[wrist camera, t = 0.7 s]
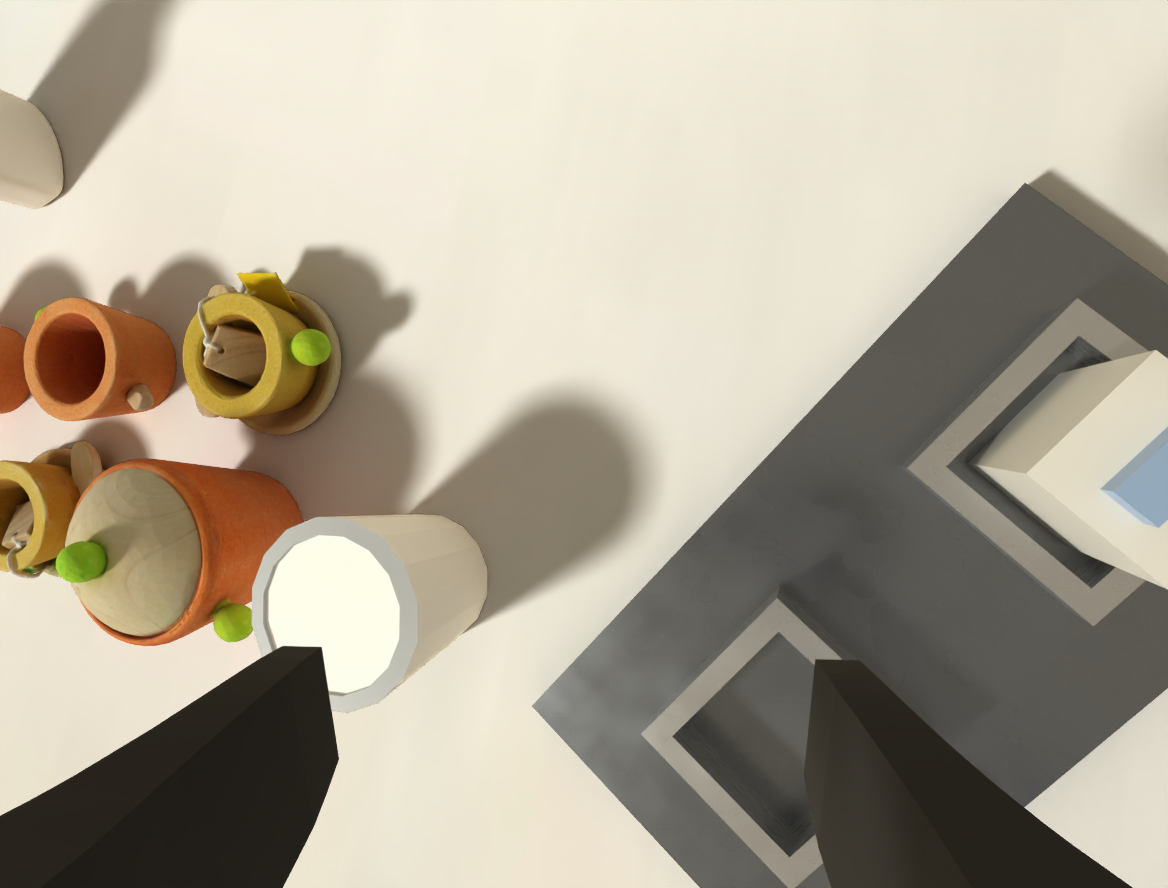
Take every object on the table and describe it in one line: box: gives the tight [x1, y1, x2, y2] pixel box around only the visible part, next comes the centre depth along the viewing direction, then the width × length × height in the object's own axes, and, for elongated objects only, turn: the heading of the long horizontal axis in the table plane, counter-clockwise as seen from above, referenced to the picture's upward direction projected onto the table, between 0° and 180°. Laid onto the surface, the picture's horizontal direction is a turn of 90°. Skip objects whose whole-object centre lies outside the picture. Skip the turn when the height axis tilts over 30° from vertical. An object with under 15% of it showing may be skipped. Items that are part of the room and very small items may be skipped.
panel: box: [532, 183, 1168, 888], centre depth 25 cm, size 14×26×3 cm, turn 138°
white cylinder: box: [252, 514, 488, 713], centre depth 29 cm, size 7×7×7 cm
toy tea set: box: [0, 272, 341, 646], centre depth 32 cm, size 26×16×10 cm, turn 89°
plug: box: [968, 350, 1168, 589], centre depth 20 cm, size 4×4×8 cm
